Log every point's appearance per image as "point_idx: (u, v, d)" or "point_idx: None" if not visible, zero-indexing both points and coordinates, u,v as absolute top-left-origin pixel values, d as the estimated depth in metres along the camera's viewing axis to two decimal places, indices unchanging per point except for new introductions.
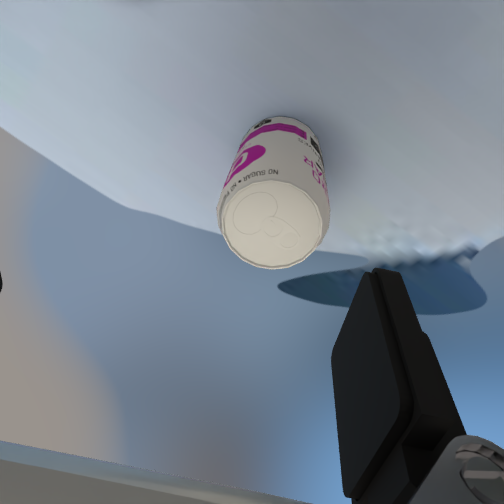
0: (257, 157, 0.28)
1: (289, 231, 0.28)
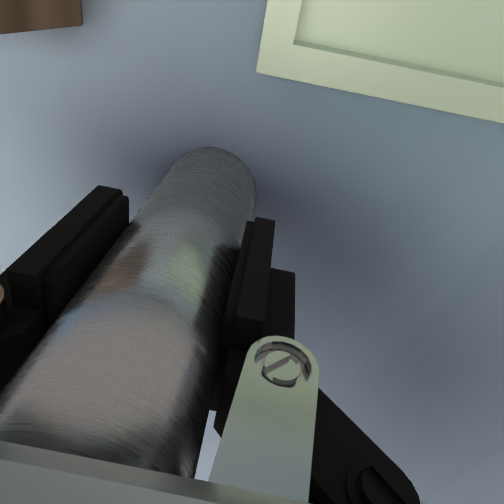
0: None
1: None
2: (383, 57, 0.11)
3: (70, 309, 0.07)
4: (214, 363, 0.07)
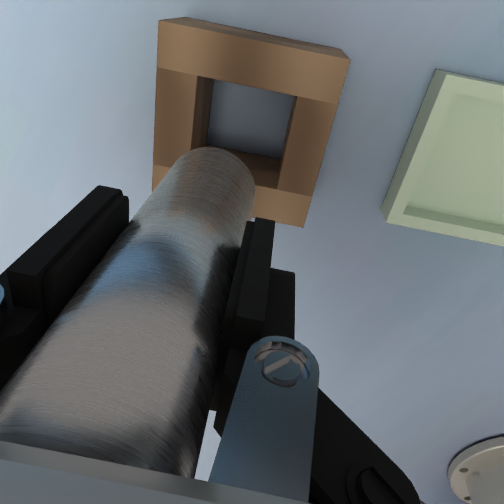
0: None
1: None
2: (435, 211, 0.26)
3: (69, 310, 0.07)
4: (214, 364, 0.07)
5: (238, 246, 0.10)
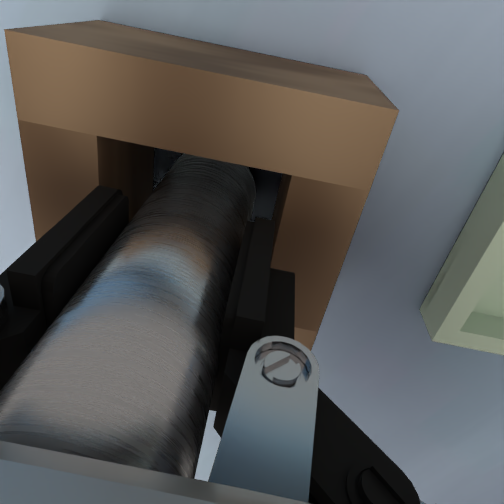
0: None
1: None
2: None
3: (69, 309, 0.07)
4: (214, 363, 0.07)
5: (238, 246, 0.10)
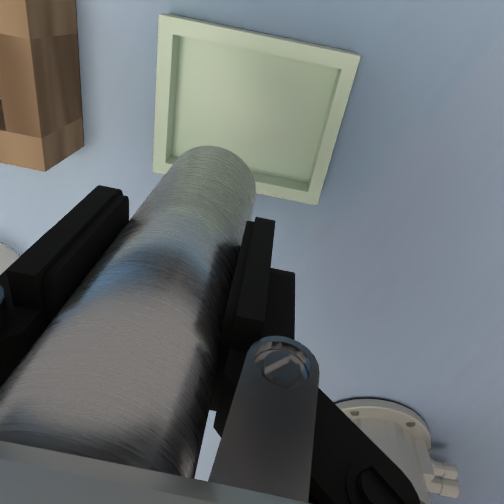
0: None
1: None
2: None
3: (68, 307, 0.07)
4: (214, 362, 0.07)
5: (238, 244, 0.10)
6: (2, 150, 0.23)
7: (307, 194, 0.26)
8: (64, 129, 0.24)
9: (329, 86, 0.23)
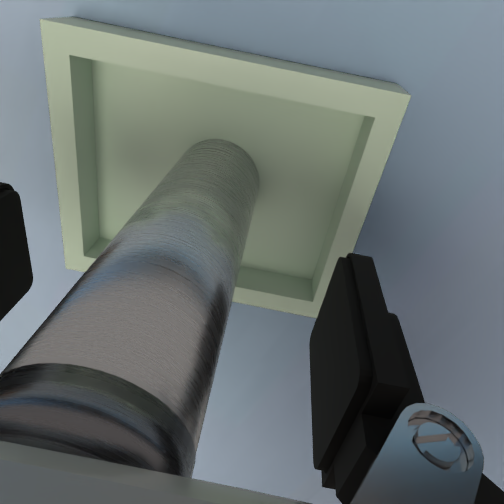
0: None
1: None
2: None
3: (93, 268, 0.07)
4: (222, 321, 0.08)
5: (243, 225, 0.11)
6: None
7: (311, 305, 0.16)
8: None
9: (349, 140, 0.14)
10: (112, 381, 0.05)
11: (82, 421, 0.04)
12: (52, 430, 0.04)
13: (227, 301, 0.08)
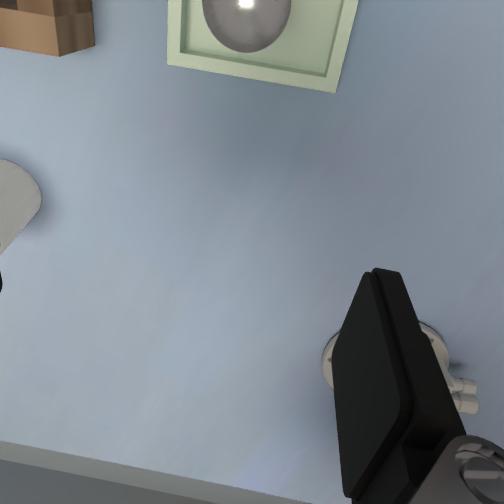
0: None
1: None
2: (223, 55, 0.26)
3: None
4: None
5: None
6: (14, 34, 0.22)
7: (325, 80, 0.25)
8: (75, 17, 0.24)
9: None
10: None
11: None
12: None
13: None
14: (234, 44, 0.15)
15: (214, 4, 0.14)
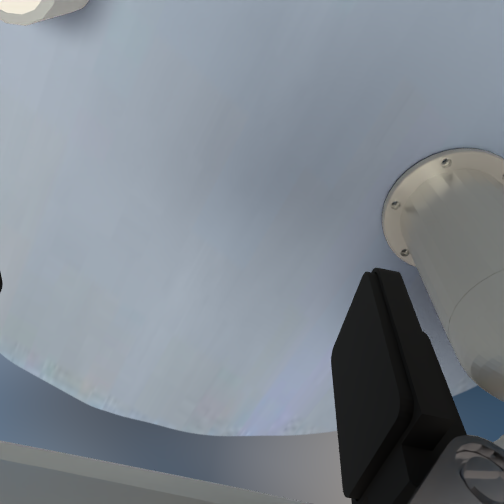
0: None
1: None
2: None
3: None
4: None
5: None
6: None
7: None
8: None
9: None
10: None
11: None
12: None
13: None
14: None
15: None
